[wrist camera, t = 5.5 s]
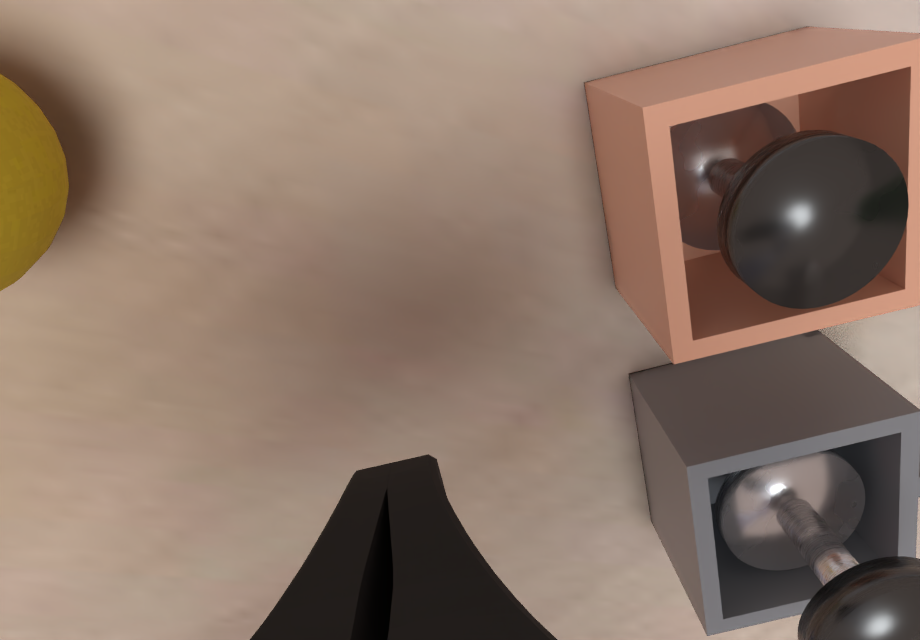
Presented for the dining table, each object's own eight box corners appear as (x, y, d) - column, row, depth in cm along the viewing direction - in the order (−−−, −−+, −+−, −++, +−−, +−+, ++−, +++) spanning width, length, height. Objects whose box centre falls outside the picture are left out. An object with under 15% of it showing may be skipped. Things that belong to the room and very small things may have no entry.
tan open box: (861, 227, 21) (986, 289, 17) (615, 287, 22) (673, 364, 17) (861, 12, 19) (1007, 16, 14) (583, 82, 19) (642, 108, 15)
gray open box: (861, 471, 25) (964, 575, 21) (651, 521, 25) (707, 636, 21) (861, 317, 23) (978, 397, 18) (628, 374, 23) (686, 467, 18)
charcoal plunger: (853, 538, 21) (983, 691, 17) (720, 569, 21) (811, 730, 17) (852, 425, 20) (996, 560, 15) (708, 459, 20) (806, 604, 15)
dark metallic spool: (794, 224, 20) (915, 292, 16) (654, 258, 20) (732, 336, 16) (788, 78, 19) (921, 104, 14) (636, 116, 19) (717, 154, 14)
